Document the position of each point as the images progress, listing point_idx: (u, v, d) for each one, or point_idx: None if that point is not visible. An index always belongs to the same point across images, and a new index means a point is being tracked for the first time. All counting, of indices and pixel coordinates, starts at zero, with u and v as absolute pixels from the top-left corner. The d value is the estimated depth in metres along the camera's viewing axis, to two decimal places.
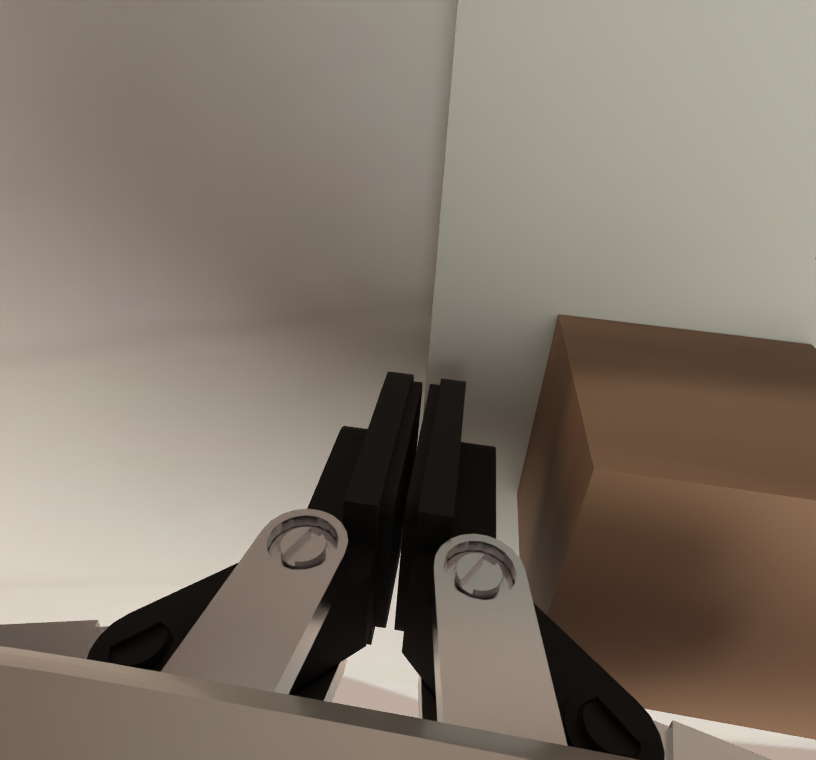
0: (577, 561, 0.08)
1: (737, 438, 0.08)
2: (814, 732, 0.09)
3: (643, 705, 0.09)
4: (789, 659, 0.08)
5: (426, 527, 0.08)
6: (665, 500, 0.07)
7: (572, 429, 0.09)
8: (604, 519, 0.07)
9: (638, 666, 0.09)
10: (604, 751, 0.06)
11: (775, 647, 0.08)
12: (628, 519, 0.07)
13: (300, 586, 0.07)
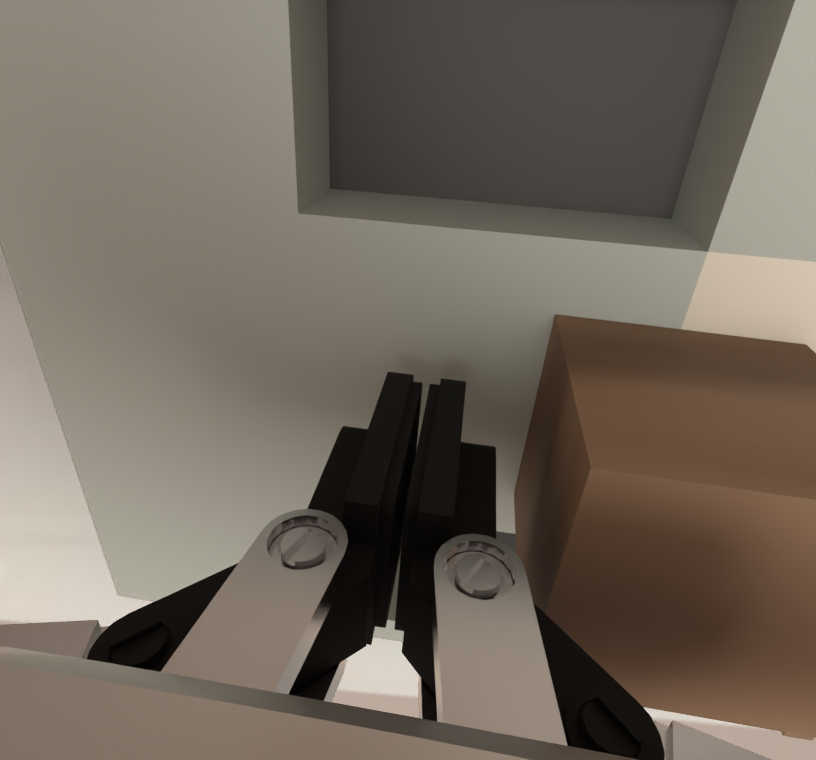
0: (574, 559, 0.08)
1: (733, 438, 0.08)
2: (809, 729, 0.09)
3: (640, 703, 0.09)
4: (783, 657, 0.08)
5: (426, 527, 0.08)
6: (660, 500, 0.07)
7: (569, 429, 0.09)
8: (601, 518, 0.07)
9: (635, 664, 0.09)
10: (604, 751, 0.06)
11: (771, 645, 0.08)
12: (625, 517, 0.07)
13: (300, 586, 0.07)
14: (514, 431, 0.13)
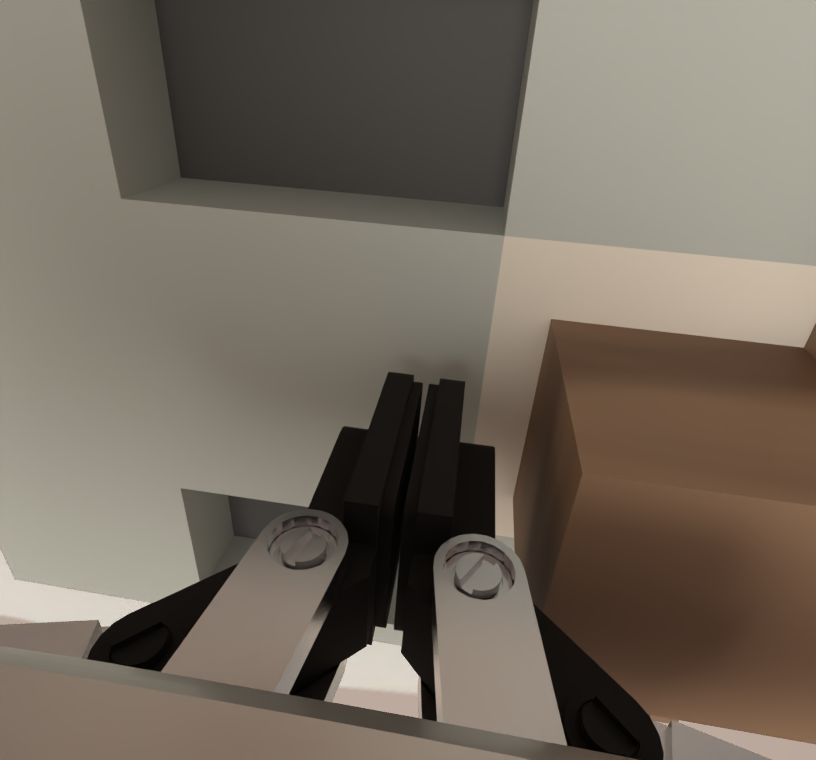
0: (568, 566, 0.08)
1: (726, 442, 0.08)
2: (809, 736, 0.09)
3: None
4: (781, 663, 0.08)
5: (425, 527, 0.08)
6: (653, 505, 0.07)
7: (563, 434, 0.09)
8: (593, 524, 0.07)
9: (631, 670, 0.09)
10: (603, 751, 0.06)
11: (767, 651, 0.08)
12: (617, 524, 0.07)
13: (301, 586, 0.07)
14: (356, 413, 0.13)
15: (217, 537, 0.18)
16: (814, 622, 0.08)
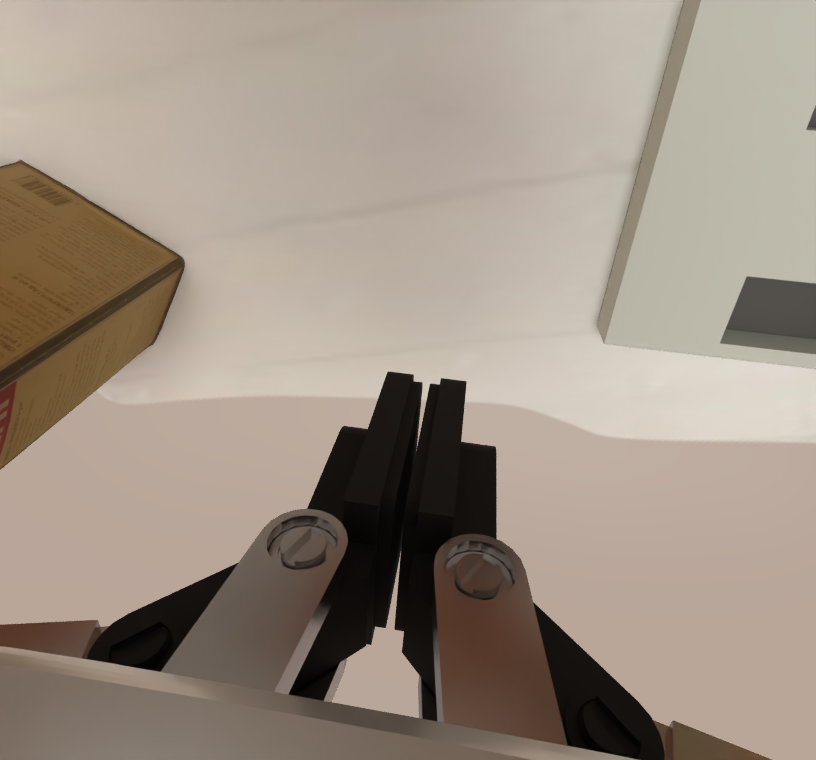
0: None
1: None
2: None
3: None
4: None
5: (426, 527, 0.08)
6: None
7: None
8: None
9: None
10: (604, 751, 0.06)
11: None
12: None
13: (300, 586, 0.07)
14: None
15: None
16: None
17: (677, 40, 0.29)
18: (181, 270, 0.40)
